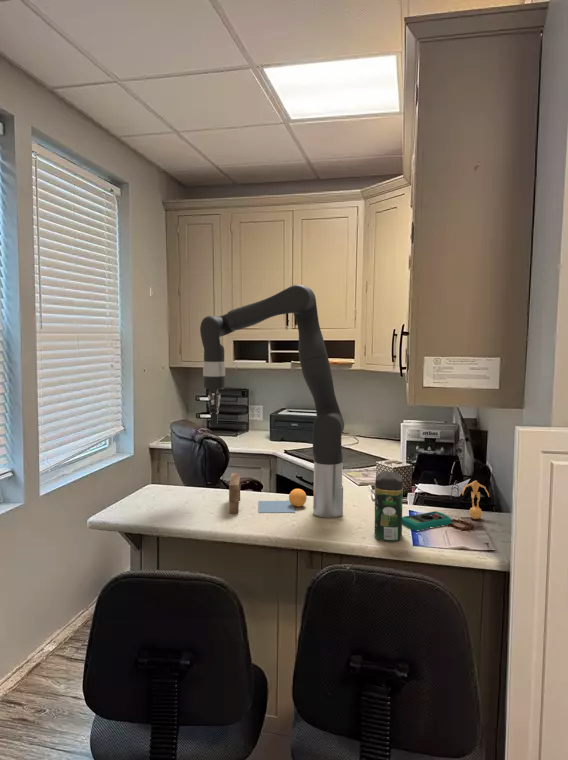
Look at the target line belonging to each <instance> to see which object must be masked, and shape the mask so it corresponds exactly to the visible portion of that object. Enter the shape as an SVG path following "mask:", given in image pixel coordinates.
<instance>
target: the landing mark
mask: <svg viewBox="0 0 568 760" xmlns="http://www.w3.org/2000/svg"><path fill="white" fill-rule="evenodd" d="M258 513H259V514H275V513H276V514H280V513H282V514H283V513H284V514H289V513H290V514H293V513H294V514H295V513H296V509H295V506H293V505H292V504H291V503H290V501H289V500H258Z"/></svg>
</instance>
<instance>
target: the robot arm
mask: <svg viewBox="0 0 568 760" xmlns="http://www.w3.org/2000/svg"><path fill="white" fill-rule="evenodd" d="M286 314H293V315H294V319H295V322H296V326H297V331H298V358H299V363H300V368H301V372H302V375H303V378H304V381H305V383H306V385H307V388H308V390H309V391H310V394H311V396H312V399H313V402H314V407H315V413H316V418H315V420H314V422H313V425H312V454H313V504H312V505H313V507H312V508H313V515H315V516H316V517H320V518H329V519H333V518H338V517H343V516H344V486H343V456H344V455H343V451H342V434H343V432H344V429H345V421H344V418H343V415H342V412H341V409H340V406H339V404H338V401H337V397H336V393H335V386H334V380H333V374H332V370H331V369H332V368H331V364H330V360H329V356H328V353H327V352H328V351H327V347H326V344H325V341H324V336H323V334H322V331H321V326H320V322H319V315H318V306H317V299H316V295H315V292H314V291H313V290H312V289H311V288H310V287H308V286H306V285H302V284H293V285H291V286H289V287H287V288H285V289H283V290H281V291H279V292H277V293H276V294H274V295H271V296H270V297H266V298H265V299H262V300H259V301H256V302H253V303H249V304H246V305H242V306H240V307H236V308H233V309H230V311H227V313H225V314H223V315H219V316H214V315H208V316H204V318H203V319H202V320H201V323H200V327H199V332H200V338H201V342H202V346H203V367H202V368H203V369H202V371H203V373H202V375H203V378H202V384H203V385H202V387H203V389H205V390H209V393H208V394H207V400H208V408H209V414H210V425H211V426H216V425H218V422H219V421H218V418H219V417H218V414H219V410H220V409H219V408H220V403H221V402H220V401H221V393H219V390H224V389H225V388H226V365H225V348H224V346H223V345H222V343H221V339H220V337H224V336H228V335H229V334H231V333H233V332H236V331H238V330H243V329H246V328H248V327H251V326H252V327H253V326H255V325H257V324H259V323H262V322H264V321H266V320H268V319H270V318H273V317H277V316H280V315H286Z"/></svg>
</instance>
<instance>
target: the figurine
mask: <svg viewBox="0 0 568 760" xmlns="http://www.w3.org/2000/svg"><path fill="white" fill-rule="evenodd" d="M469 487H471V489H472V491H471V492H470V494H471V495H470V496H471V505H472V507H470V509H469V510H468V514H469V516H470V518H472V519H474V520H479V519H481V518H482V516H483V511H482V508H480V506H479V502H480V500H481V496H480V495H481V492H480V491H479V488H480V487H481V488H483V489H484V491H485V492H486V494H487V496H488V498H490V494H489V492H488V490H487V487H486V486H484V485H482V484H480V483H479V482H478V480H473V481H472V482H470V483H469V484H465V486H464V487H463V490H462V493H461V496H464V494H465V490H466V489H467V488H469ZM475 497H476V498H477V500H476V505H475V503H474V502H475Z"/></svg>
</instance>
